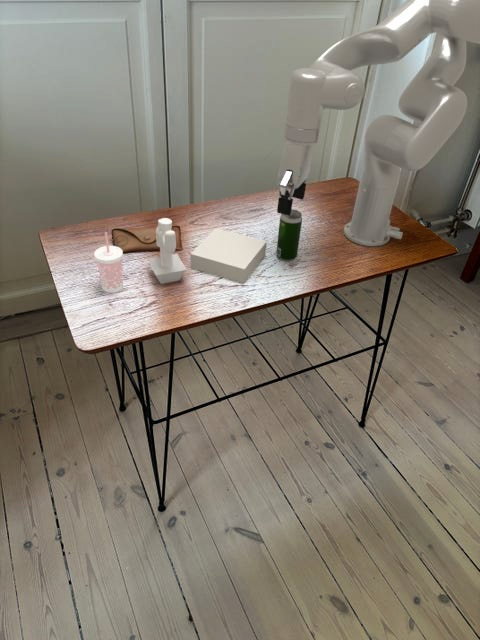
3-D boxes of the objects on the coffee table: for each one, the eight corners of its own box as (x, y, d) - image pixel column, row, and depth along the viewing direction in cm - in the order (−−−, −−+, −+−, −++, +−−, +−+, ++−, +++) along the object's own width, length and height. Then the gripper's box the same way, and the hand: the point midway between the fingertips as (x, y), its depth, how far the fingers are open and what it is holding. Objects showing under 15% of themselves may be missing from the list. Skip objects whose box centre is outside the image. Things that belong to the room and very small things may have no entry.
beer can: (284, 264, 127) (289, 221, 120) (271, 254, 131) (276, 211, 123) (301, 258, 130) (307, 216, 122) (288, 248, 133) (293, 206, 125)
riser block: (265, 255, 130) (266, 241, 127) (243, 283, 120) (244, 269, 117) (215, 241, 134) (215, 228, 131) (190, 267, 124) (190, 253, 121)
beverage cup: (93, 286, 116) (84, 232, 107) (115, 275, 120) (108, 222, 111) (110, 298, 113) (102, 243, 104) (132, 286, 117) (126, 232, 108)
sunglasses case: (112, 255, 126) (109, 228, 125) (113, 254, 133) (110, 228, 132) (185, 250, 130) (183, 223, 129) (182, 250, 136) (180, 224, 135)
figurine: (176, 264, 125) (174, 208, 115) (188, 285, 118) (187, 228, 109) (147, 269, 122) (142, 212, 113) (157, 291, 116) (154, 233, 106)
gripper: (297, 118, 117) (287, 188, 128) (271, 140, 105) (262, 216, 115) (329, 125, 115) (316, 195, 126) (305, 148, 103) (293, 224, 113)
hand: (290, 205), depth 121 cm, fingers open, 9 cm apart
